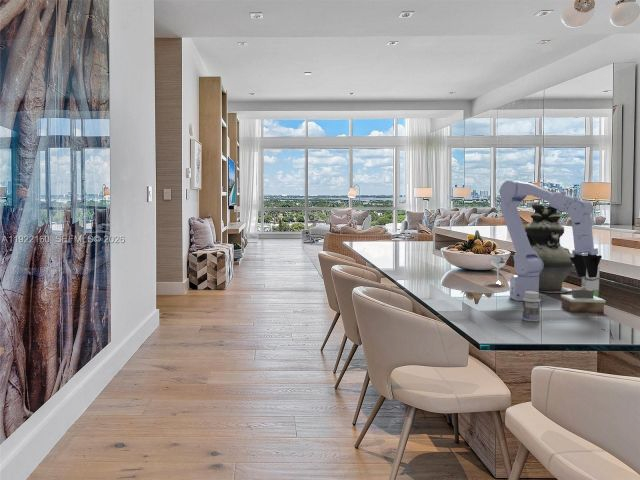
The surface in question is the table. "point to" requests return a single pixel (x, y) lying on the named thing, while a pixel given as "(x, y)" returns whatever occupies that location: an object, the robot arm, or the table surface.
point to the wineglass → (498, 264)
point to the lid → (583, 296)
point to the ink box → (591, 283)
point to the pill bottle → (531, 306)
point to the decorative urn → (549, 248)
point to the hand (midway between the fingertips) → (587, 277)
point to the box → (583, 306)
